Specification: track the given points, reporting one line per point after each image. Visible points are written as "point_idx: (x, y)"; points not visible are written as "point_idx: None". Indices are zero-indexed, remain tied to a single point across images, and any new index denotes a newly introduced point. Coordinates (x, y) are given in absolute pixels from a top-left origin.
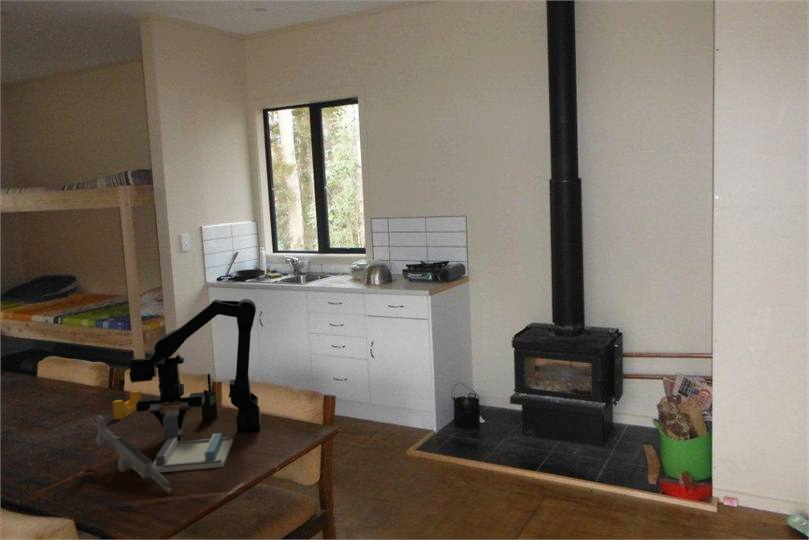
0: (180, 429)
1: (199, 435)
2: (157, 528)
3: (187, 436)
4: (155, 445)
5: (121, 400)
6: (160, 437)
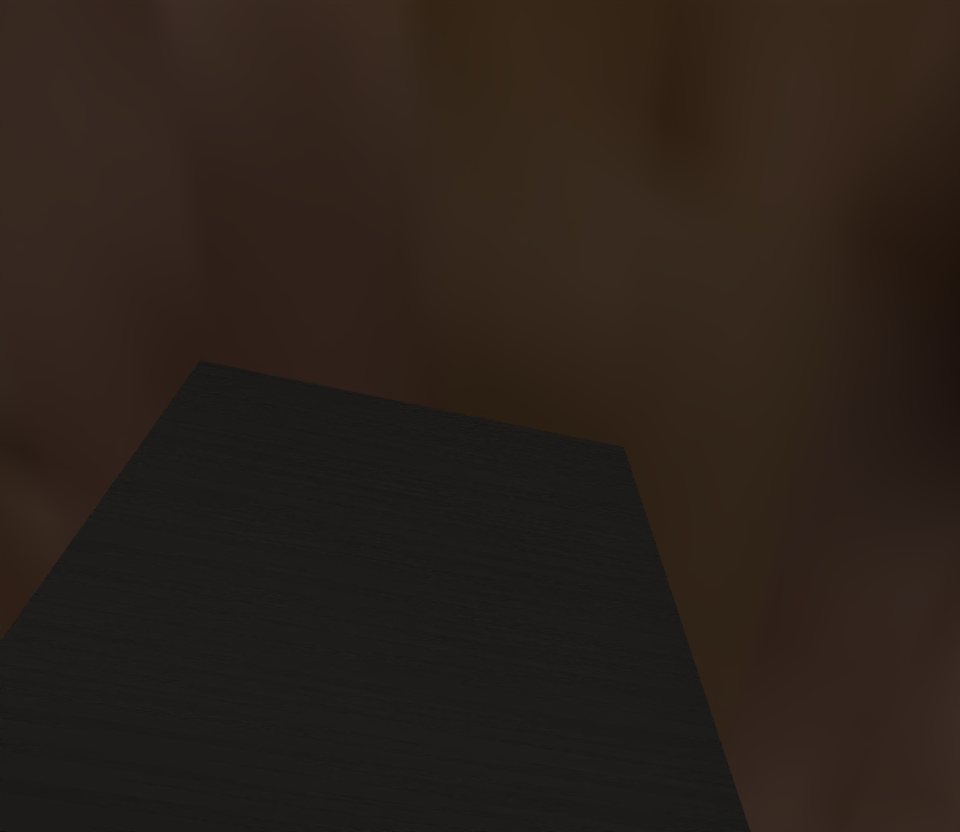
0: None
1: (921, 601)
2: None
3: (671, 553)
4: None
5: None
6: (7, 338)
